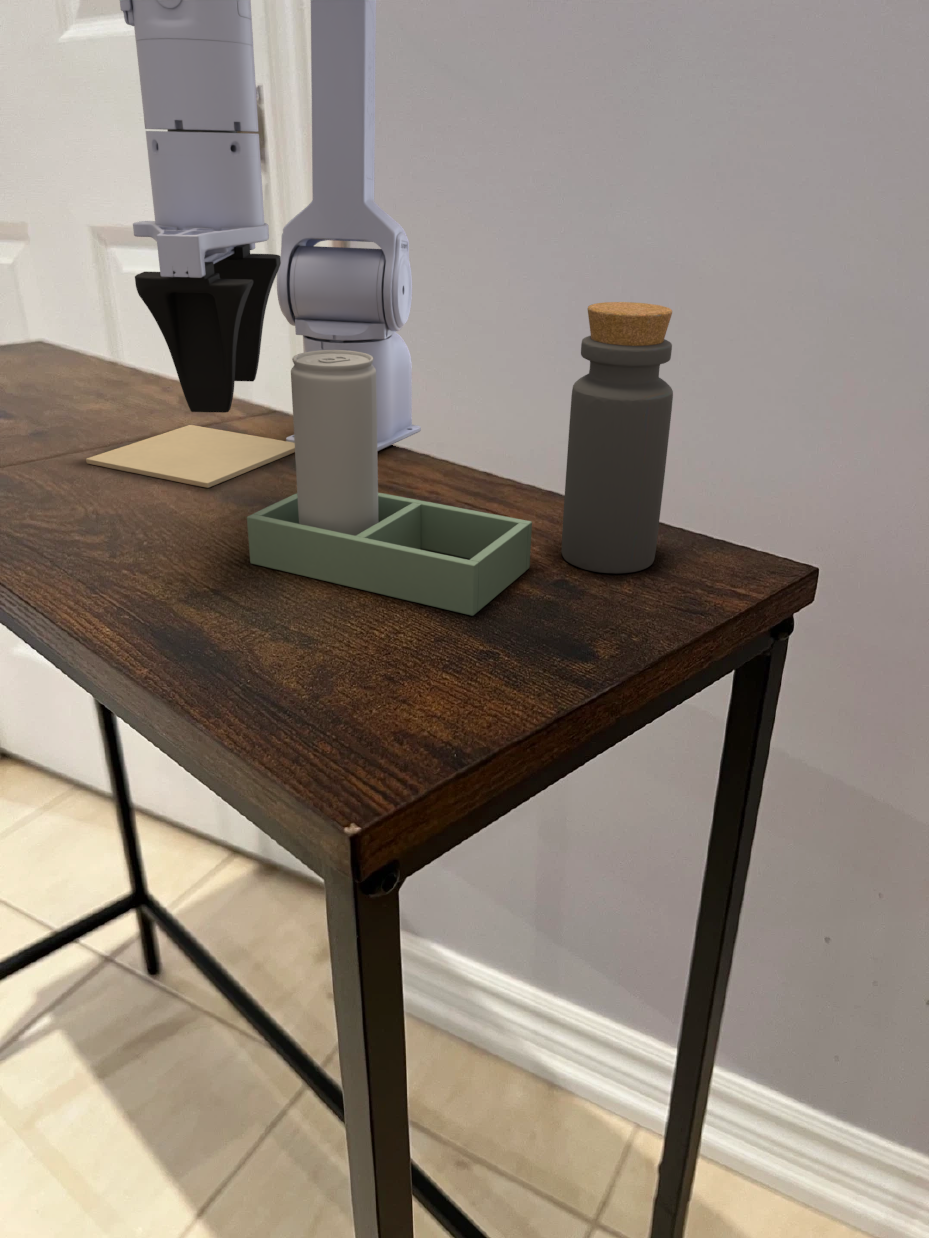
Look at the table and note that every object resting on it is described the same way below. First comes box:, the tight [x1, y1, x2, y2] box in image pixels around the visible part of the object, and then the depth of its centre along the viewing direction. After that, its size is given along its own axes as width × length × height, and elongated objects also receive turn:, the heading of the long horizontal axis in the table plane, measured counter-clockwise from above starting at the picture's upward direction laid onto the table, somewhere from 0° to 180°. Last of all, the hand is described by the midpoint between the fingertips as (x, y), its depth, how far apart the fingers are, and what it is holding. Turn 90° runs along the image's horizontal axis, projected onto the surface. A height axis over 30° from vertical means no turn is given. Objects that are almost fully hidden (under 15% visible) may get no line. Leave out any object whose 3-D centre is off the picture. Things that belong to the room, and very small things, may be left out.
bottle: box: [561, 301, 674, 575], centre depth 58 cm, size 6×6×15 cm
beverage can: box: [290, 350, 379, 536], centre depth 58 cm, size 5×5×12 cm
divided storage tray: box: [246, 492, 533, 617], centre depth 59 cm, size 8×15×3 cm, turn 63°
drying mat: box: [85, 424, 295, 489], centre depth 79 cm, size 12×12×1 cm
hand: (225, 394), depth 57 cm, fingers open, 7 cm apart
